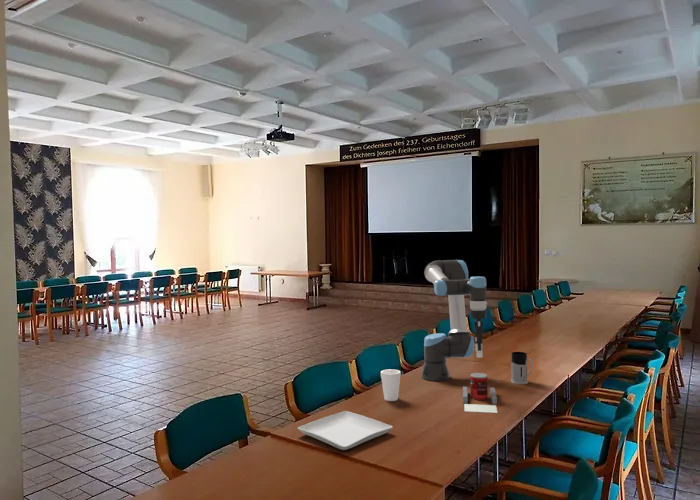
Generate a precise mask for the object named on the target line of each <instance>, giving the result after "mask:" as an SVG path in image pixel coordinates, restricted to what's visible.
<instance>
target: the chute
mask: <svg viewBox="0 0 700 500" xmlns="http://www.w3.org/2000/svg"><path fill="white" fill-rule="evenodd" d="M489 390H490V392H489V393H490V399H491V403H492V404H478V403H477V404H476V403H475V404H473V403H468V400H469V399H468V386H462V403H464V410H463V411H464V412H465V413H469V412H470V413H485V414H486V413H487V414H499V413H498V408H497V405H498V397H497V392H496V388H495V387H490V388H489Z"/></svg>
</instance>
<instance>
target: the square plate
mask: <svg viewBox="0 0 700 500" xmlns="http://www.w3.org/2000/svg"><path fill="white" fill-rule="evenodd" d="M393 427H394V426H393V425H391V424H387V423H384V422H383V421H381V420H377V419H375V418H370V417H367V416H365V415H362V414H358V413H354V412H351V411H349V410H348V411H347V410H343V411H341V412H337V413H334V414H330V415H328V416H324V417H321V418H319V419H317V420H313V421H311V422H308V423H306V424H303V425H300V426H298V427H297V430H299V432H301V433H302V434H304V435H306V436H309V437H311V438H314V439H316V440H318V441H320V442H323V443H324V444H328V445H329V446H332V447H333V448H336V449H338V450H342V451H347V450H349V449H352V448H355V447H358V445H361V444H363V443H365V442H368V441H370V440H373V439H375V438H378V437H380V436H382V435H385V434H387V433H388V432H390V431H391V430H392V429H393Z"/></svg>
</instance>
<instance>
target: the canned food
mask: <svg viewBox="0 0 700 500" xmlns="http://www.w3.org/2000/svg"><path fill="white" fill-rule="evenodd" d="M469 378H470V397H471V399H473V400H476V401H477V400H478V401H485V400H487V399H488V395H489V394H488V393H489V391H488V390H489V389H488V386H489V385H488V384H489V383H488V381H489V380H488V378H489V377H488V374H486V373H484V372H473V373H470V377H469Z"/></svg>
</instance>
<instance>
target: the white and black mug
mask: <svg viewBox="0 0 700 500" xmlns="http://www.w3.org/2000/svg"><path fill="white" fill-rule="evenodd" d="M527 354H528V353H526V352H524V351H512V352H511V380H510V382H511V383H512V384H515V385H526V384H529V381H528V376H530V375H531V373H532V371H533V365H534V364H533V361H532V359H531V358H528V355H527ZM528 360H529V361H530V364H531V365H530V371H529V372H528Z"/></svg>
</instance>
